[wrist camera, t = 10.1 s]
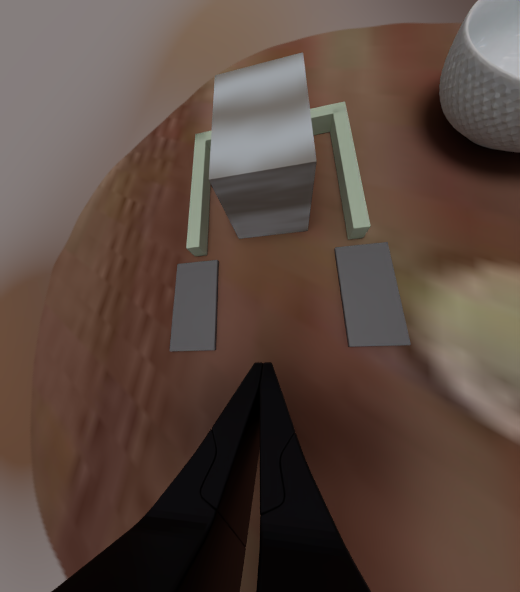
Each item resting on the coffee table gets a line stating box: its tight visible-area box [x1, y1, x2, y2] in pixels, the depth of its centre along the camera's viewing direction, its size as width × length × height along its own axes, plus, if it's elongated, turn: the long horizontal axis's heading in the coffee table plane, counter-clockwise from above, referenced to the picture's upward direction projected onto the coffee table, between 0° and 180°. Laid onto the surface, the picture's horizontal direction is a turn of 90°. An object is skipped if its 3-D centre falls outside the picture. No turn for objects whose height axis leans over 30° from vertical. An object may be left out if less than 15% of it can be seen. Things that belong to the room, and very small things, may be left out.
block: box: [209, 53, 316, 239], centre depth 19 cm, size 12×8×8 cm, turn 1°
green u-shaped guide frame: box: [170, 102, 411, 351], centre depth 21 cm, size 28×23×2 cm
